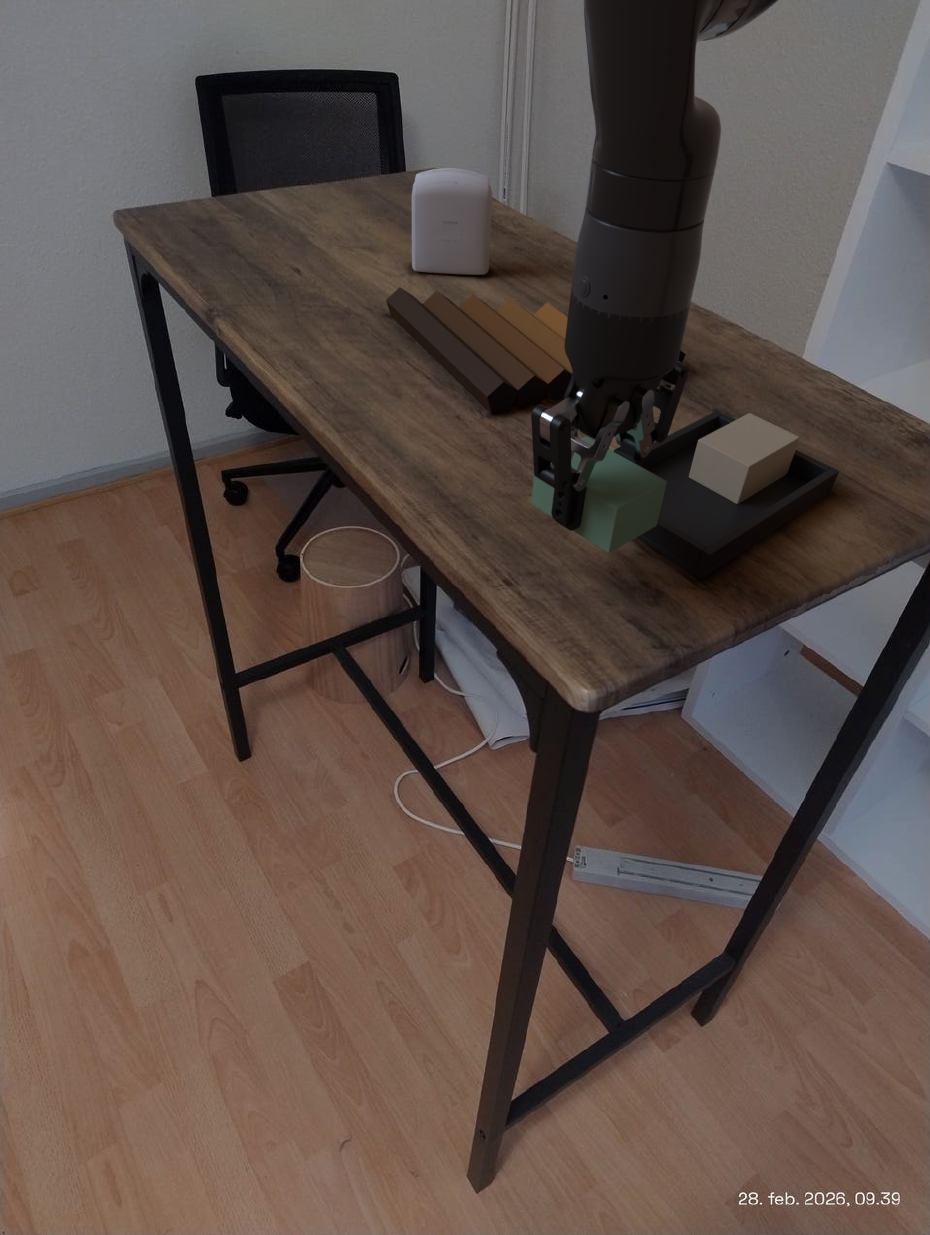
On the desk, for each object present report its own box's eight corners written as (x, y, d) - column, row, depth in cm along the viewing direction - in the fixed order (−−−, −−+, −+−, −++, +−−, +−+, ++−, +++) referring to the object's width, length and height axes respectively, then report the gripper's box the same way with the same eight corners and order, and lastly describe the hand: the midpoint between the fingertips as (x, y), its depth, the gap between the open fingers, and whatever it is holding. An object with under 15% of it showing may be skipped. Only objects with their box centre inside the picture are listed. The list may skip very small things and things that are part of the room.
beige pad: (787, 474, 81) (800, 437, 79) (737, 504, 77) (749, 466, 75) (738, 449, 84) (749, 412, 82) (688, 477, 80) (697, 439, 77)
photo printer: (409, 274, 114) (410, 172, 105) (412, 261, 117) (413, 161, 109) (488, 279, 114) (494, 177, 105) (488, 266, 117) (495, 167, 109)
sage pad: (579, 479, 70) (585, 435, 67) (657, 525, 65) (667, 481, 63) (530, 504, 67) (535, 459, 64) (608, 554, 62) (617, 508, 60)
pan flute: (386, 317, 104) (485, 415, 88) (385, 289, 101) (487, 385, 85) (562, 287, 113) (681, 372, 97) (565, 261, 110) (688, 343, 95)
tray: (830, 493, 80) (839, 470, 78) (702, 579, 70) (709, 554, 68) (710, 432, 87) (716, 410, 86) (578, 501, 77) (582, 478, 76)
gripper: (600, 338, 49) (564, 572, 60) (748, 280, 56) (692, 498, 67) (507, 295, 53) (491, 521, 64) (657, 246, 60) (618, 457, 71)
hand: (594, 508), depth 66 cm, fingers closed on sage pad, 5 cm apart
